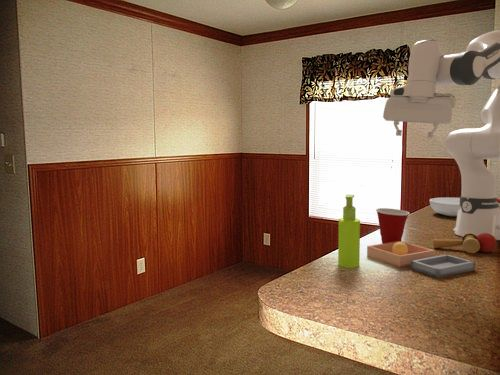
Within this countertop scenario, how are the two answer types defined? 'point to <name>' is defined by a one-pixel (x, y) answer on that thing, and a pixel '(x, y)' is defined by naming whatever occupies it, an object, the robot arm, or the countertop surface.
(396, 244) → the ball
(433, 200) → the serving bowl
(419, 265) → the tray
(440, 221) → the countertop surface
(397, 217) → the plastic cup
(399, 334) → the countertop surface
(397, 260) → the dish
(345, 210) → the soap dispenser
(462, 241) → the kendama
